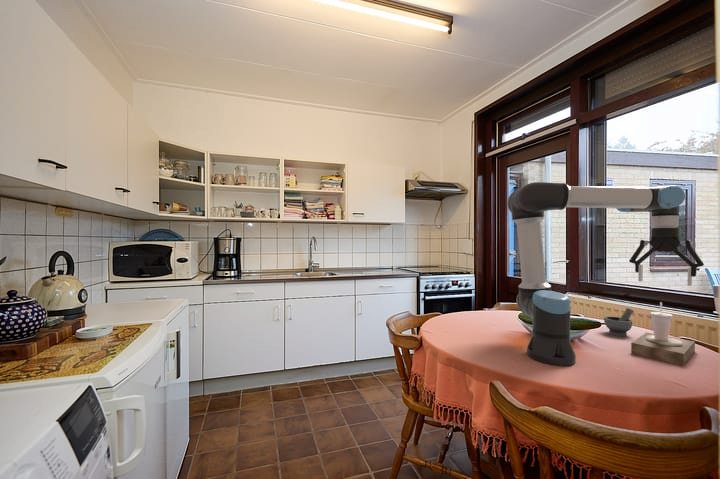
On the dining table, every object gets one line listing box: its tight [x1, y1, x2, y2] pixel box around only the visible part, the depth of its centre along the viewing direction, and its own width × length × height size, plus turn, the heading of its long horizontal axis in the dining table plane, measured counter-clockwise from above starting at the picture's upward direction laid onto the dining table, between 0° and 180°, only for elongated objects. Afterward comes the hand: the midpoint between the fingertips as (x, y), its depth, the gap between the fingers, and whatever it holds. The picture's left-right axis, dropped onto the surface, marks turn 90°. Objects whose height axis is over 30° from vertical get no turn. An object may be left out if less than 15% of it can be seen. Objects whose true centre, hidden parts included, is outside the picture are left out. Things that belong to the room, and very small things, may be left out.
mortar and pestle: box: [603, 307, 634, 337], centre depth 142 cm, size 11×9×12 cm
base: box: [630, 332, 696, 366], centre depth 120 cm, size 14×22×5 cm, turn 126°
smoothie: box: [649, 301, 674, 341], centre depth 120 cm, size 6×6×14 cm
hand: (663, 283), depth 119 cm, fingers open, 13 cm apart
